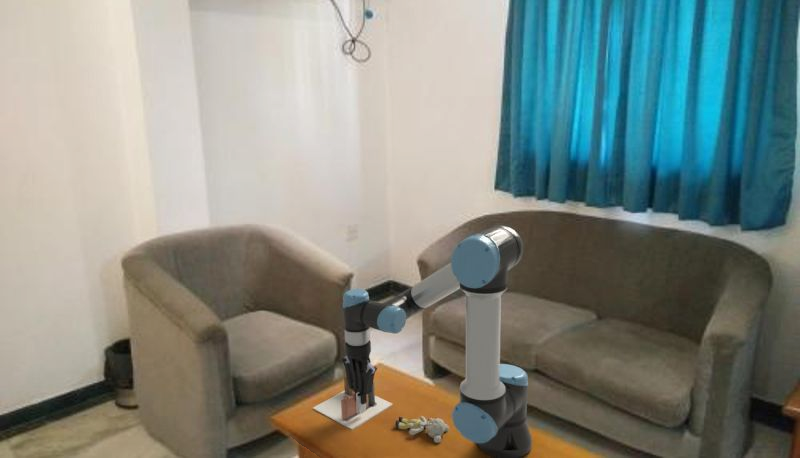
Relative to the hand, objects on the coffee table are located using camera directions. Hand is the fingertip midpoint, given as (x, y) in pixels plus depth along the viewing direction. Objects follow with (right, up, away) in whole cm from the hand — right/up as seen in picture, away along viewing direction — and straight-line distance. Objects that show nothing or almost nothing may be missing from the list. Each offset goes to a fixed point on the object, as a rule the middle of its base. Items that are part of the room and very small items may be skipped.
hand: (361, 411), depth 180 cm
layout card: (-3, -1, +7) cm, 8 cm away
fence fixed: (-1, 0, +11) cm, 12 cm away
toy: (+18, -4, -6) cm, 19 cm away
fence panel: (-2, -1, +3) cm, 4 cm away
